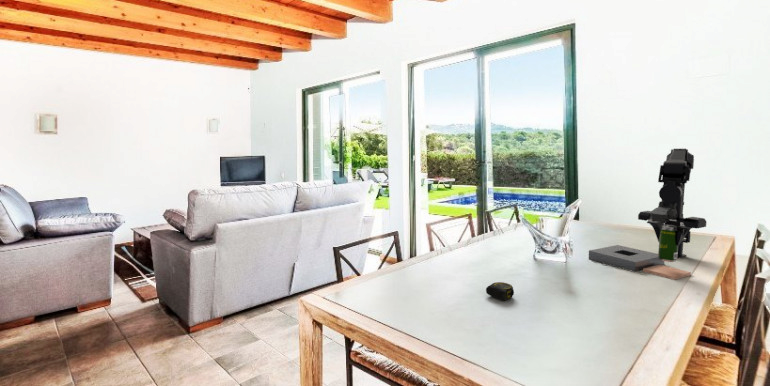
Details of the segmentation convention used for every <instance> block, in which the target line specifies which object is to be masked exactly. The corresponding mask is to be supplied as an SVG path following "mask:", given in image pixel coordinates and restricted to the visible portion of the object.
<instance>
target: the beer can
mask: <svg viewBox="0 0 770 386" xmlns="http://www.w3.org/2000/svg"><path fill="white" fill-rule="evenodd" d="M677 233H678V230H677V226H674V225H661V228H660V237H659V242H658V253H657V254H658V258H659V260H661V261H664V262H666V263H667V262H668V263H675V262H677V260H678V258H677V255H678V246H677V245H676V240H677Z"/></svg>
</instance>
